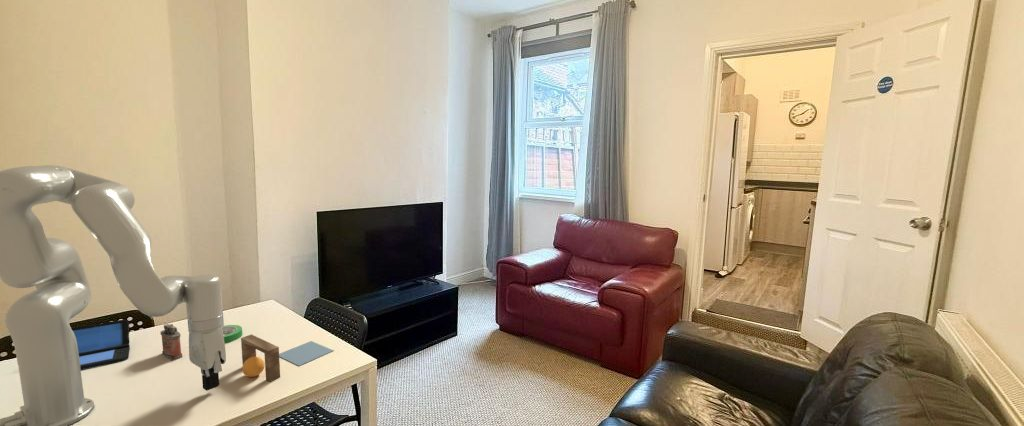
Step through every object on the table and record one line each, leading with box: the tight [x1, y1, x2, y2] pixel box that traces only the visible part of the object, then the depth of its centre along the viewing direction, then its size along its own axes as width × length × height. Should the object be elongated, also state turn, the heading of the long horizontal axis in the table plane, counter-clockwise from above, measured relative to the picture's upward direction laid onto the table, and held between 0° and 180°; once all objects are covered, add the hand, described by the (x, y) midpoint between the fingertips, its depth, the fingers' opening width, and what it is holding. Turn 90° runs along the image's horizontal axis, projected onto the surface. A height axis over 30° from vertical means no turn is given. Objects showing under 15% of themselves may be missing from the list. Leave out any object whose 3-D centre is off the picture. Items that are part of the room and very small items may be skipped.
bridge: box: [240, 334, 281, 382], centre depth 123 cm, size 3×14×9 cm, turn 59°
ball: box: [241, 356, 265, 378], centre depth 121 cm, size 6×6×6 cm
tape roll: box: [222, 324, 243, 344], centre depth 144 cm, size 11×11×3 cm
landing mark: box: [279, 340, 335, 367], centre depth 135 cm, size 12×12×1 cm
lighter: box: [160, 323, 183, 361], centre depth 130 cm, size 8×3×10 cm, turn 62°
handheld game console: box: [71, 319, 131, 371], centre depth 127 cm, size 16×13×9 cm
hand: (211, 387), depth 112 cm, fingers closed
